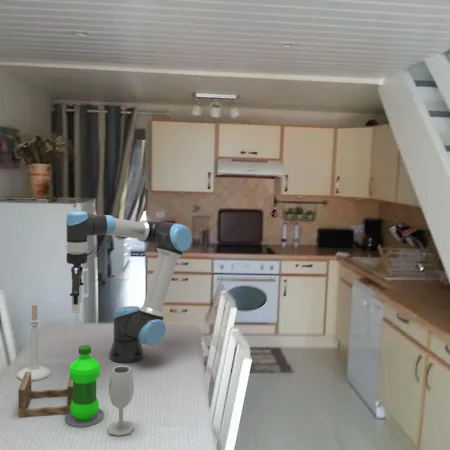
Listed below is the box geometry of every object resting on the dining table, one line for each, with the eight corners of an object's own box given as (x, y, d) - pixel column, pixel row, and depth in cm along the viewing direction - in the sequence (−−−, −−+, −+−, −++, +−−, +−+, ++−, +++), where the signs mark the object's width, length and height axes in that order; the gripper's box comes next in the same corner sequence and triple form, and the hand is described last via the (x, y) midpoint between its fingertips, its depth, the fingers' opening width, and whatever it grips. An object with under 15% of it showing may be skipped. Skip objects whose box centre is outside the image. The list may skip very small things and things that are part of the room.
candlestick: (21, 368, 210) (21, 299, 207) (52, 368, 212) (53, 299, 209) (13, 381, 198) (14, 307, 195) (47, 380, 200) (48, 307, 197)
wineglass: (109, 423, 169) (109, 363, 167) (135, 422, 170) (136, 364, 168) (105, 436, 161) (105, 374, 158) (132, 436, 161) (133, 374, 159)
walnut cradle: (76, 394, 189) (76, 369, 188) (73, 413, 175) (73, 386, 174) (25, 397, 185) (25, 371, 184) (18, 417, 171) (18, 389, 169)
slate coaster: (104, 407, 180) (104, 405, 180) (103, 425, 167) (103, 423, 167) (66, 409, 177) (66, 408, 177) (63, 428, 164) (63, 427, 164)
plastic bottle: (74, 409, 177) (74, 341, 174) (103, 410, 176) (104, 342, 173) (64, 423, 167) (64, 352, 164) (95, 425, 166) (96, 353, 163)
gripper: (69, 246, 198) (69, 298, 201) (63, 258, 174) (63, 317, 177) (88, 246, 200) (88, 298, 203) (85, 258, 176) (85, 316, 178)
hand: (76, 307), depth 190 cm, fingers open, 13 cm apart
